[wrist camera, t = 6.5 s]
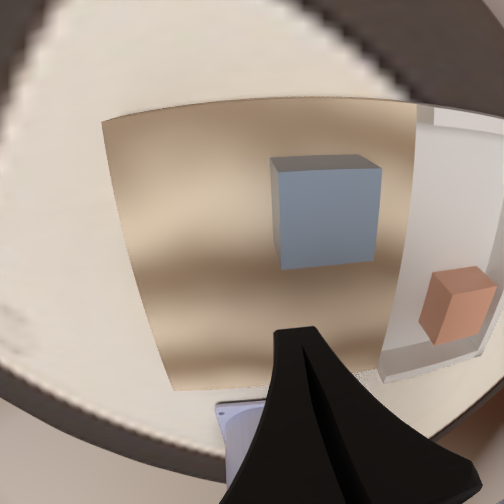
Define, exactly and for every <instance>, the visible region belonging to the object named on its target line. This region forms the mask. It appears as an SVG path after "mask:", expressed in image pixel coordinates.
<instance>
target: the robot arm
mask: <svg viewBox="0 0 504 504" xmlns="http://www.w3.org/2000/svg"><path fill="white" fill-rule="evenodd" d="M215 412H216V416H217V419H218V423H219V426H220V429H221V433H222V436H223V439H224V443H225V449H226V481H227V492H226V493H225V495H224V497H223V498H222V500H221V501H220V503H219V504H462V503H464V502H465V501H466V500H468V499H469V498H471V497H472V496H473V495H475V494H476V493H477V492H479V491H480V490H481V488H482V486H483V485H482V482H481V480H480V477H479V475H478V473H477V470H476V469H475V467H474V465H473V463H472V462H471V461H470V460H468V459H466V458H464V457H461V456H459V455H457V454H455V453H453V452H451V451H449V450H447V449H445V448H443V447H441V446H440V445H438V444H436V443H435V442H433V441H431V440H430V439H428V438H426V437H425V436H423V435H422V434H420V433H419V432H417V431H416V430H415V429H413V428H412V427H410V426H409V425H407V424H406V423H404V422H403V421H402V420H401V419H399V418H398V417H397V416H396V415H394V414H393V413H392V412H391V411H389V410H388V409H387V408H386V407H385V406H384V405H383V404H381V403H380V402H379V401H378V400H377V399H376V398H375V397H374V396H373V395H372V394H371V393H370V392H369V391H368V390H367V389H366V388H365V387H364V386H363V385H362V384H361V383H360V382H359V381H358V380H357V379H356V378H355V377H354V375H353V374H352V373H351V372H350V371H349V370H348V369H347V367H346V366H345V365H344V364H343V363H342V361H341V360H340V359H339V358H338V357H337V355H336V354H335V353H334V351H333V350H332V349H331V348H330V346H329V345H328V344H327V342H326V341H325V339H324V338H323V337H322V335H321V334H320V332H319V331H318V329H317V328H316V327H315V326H307V327H298V328H288V329H278V330H276V331H274V332H273V370H272V376H271V381H270V386H269V390H268V394H267V398H266V400H263V401H252V402H240V403H225V404H217V405H216V406H215ZM497 504H504V499H503V500H502V501H500V502H499V503H497Z"/></svg>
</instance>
